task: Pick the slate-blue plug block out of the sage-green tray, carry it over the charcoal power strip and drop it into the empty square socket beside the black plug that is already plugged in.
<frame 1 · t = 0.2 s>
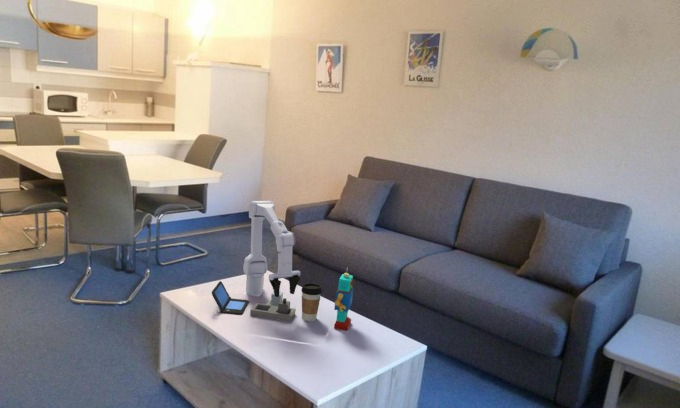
hand: (284, 295, 214), 10 cm above the table, tool pointing down, fingers open, 7 cm apart
tray: (276, 307, 226), on the table
toy robot: (341, 326, 215), on the table
power strip: (272, 315, 217), on the table
handheld game console: (230, 308, 222), on the table
coffee cup: (308, 320, 217), on the table
twin plug: (283, 316, 216), point 1 cm above the table, touching power strip
plug: (276, 306, 226), point 1 cm above the table, touching tray
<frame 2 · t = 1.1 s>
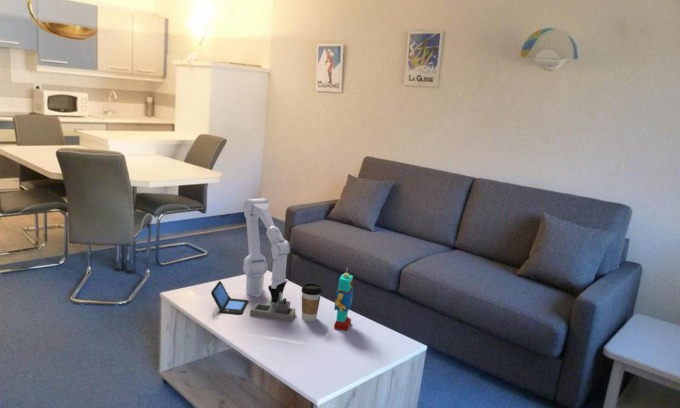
hand: (276, 299, 225), 4 cm above the table, tool pointing down, fingers open, 7 cm apart
nothing on the table moved.
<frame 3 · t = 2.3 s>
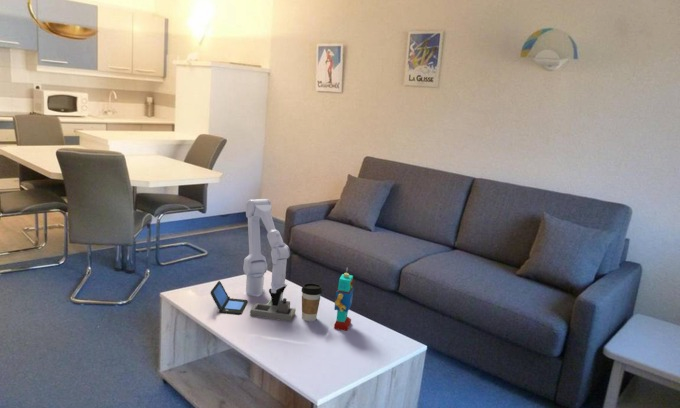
hand: (276, 303, 226), 2 cm above the table, tool pointing down, fingers closed on plug, 4 cm apart
plug: (276, 306, 226), point 1 cm above the table, touching gripper, tray
everything else where it was.
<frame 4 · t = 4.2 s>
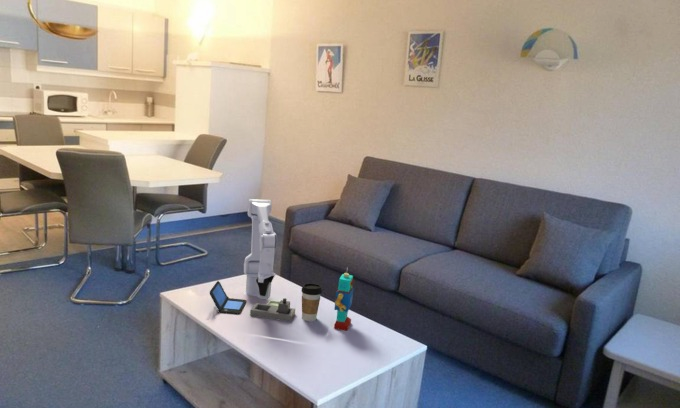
hand: (264, 293, 216), 9 cm above the table, tool pointing down, fingers closed on plug, 4 cm apart
plug: (264, 297, 216), point 8 cm above the table, touching gripper
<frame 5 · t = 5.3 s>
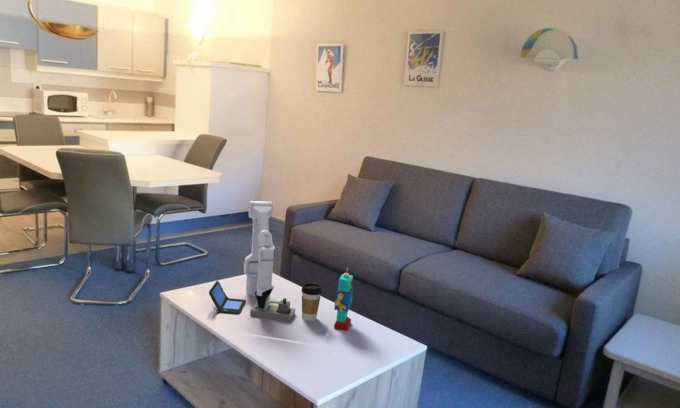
hand: (262, 306, 217), 4 cm above the table, tool pointing down, fingers closed on plug, 4 cm apart
plug: (262, 309, 217), point 2 cm above the table, touching gripper
when the fingers open (3 cm above the table, at t = 6.1 s): plug drops 1 cm, resting on power strip.
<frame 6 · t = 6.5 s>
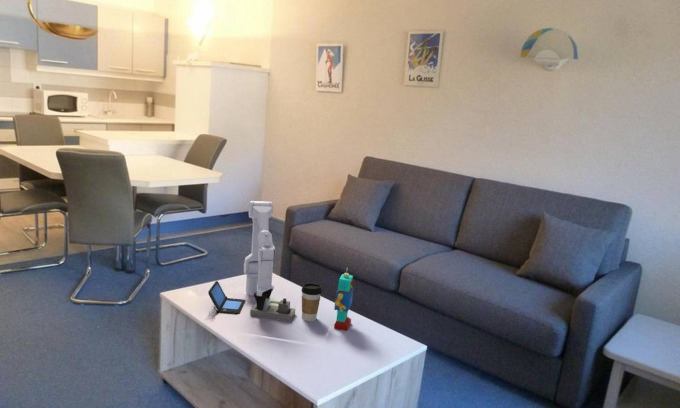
hand: (262, 306, 217), 4 cm above the table, tool pointing down, fingers open, 7 cm apart
plug: (262, 313, 218), point 1 cm above the table, touching power strip
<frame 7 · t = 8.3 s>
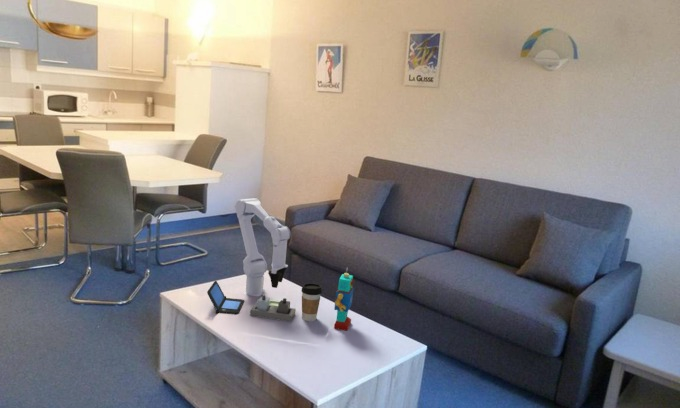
hand: (276, 284, 227), 9 cm above the table, tool pointing down, fingers open, 7 cm apart
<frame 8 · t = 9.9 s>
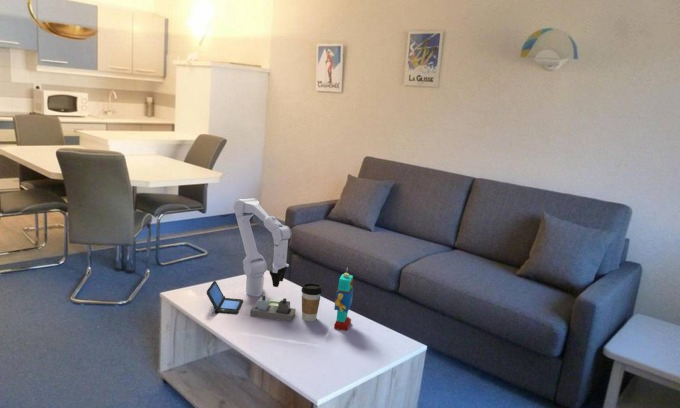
hand: (277, 283, 228), 9 cm above the table, tool pointing down, fingers open, 7 cm apart
at the end: plug 0.1 cm from the target spot on the power strip, point 0.6 cm above the power strip's base; plug tilted 0°; the gripper is holding nothing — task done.
